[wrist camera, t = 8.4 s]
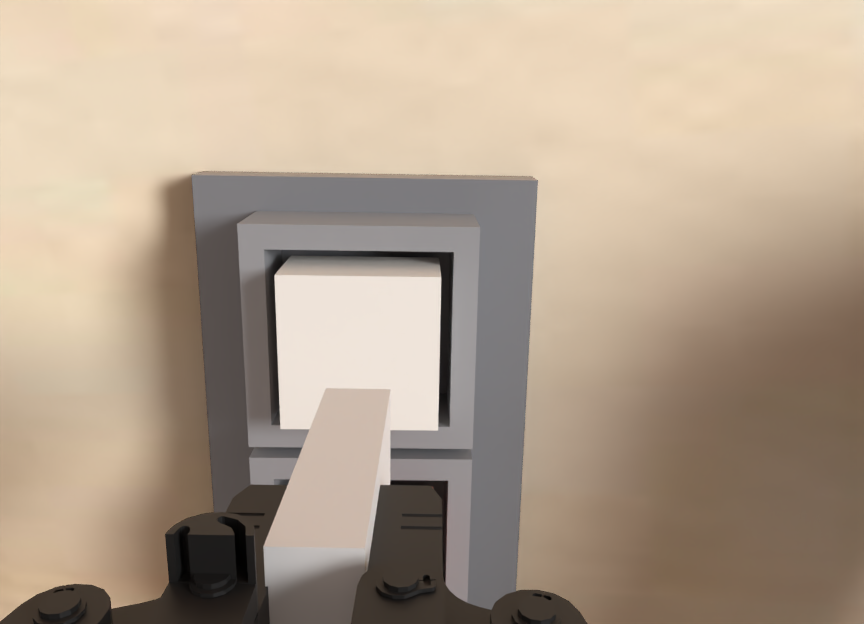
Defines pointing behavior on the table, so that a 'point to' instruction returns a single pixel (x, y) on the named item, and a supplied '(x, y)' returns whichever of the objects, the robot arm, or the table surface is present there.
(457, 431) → the keypad
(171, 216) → the table surface
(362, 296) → the white key
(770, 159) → the table surface
